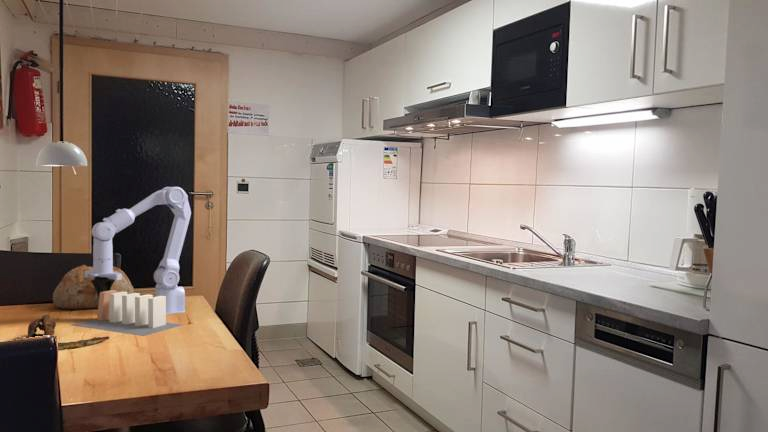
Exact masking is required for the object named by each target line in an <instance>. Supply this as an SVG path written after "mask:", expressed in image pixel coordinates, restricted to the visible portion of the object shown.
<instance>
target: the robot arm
mask: <svg viewBox="0 0 768 432" xmlns="http://www.w3.org/2000/svg"><path fill="white" fill-rule="evenodd" d="M158 205H159V206H160V205H166V206H167V207H168V208H169V209H170V210H171V212H172V213H173V214H174V217H173V221H172V225H171V228H170V232H169V236H168V239H167V243H166V247H165V250H164V254H163V258H162V259H161V260H160V262H159V264H158V267H157V268H156V270H155V271H154V273H153V281H154V282H155V283H156V285H155V296H154V297H157V296H166V315H173V314H182V313H186V293H185V288H184V287H183V286H178V284H179V282H180V273H179V272H180V263H179V261H180V256H181V253H182V249H183V246H184V243H185V239H186V234H187V231H188V227H189V224H190V220H191V215H192V211H191V210H192V209H191V206H190V203H189V196H188V194H187V192H186V191H185V190H184V189H183V188H182V187H179V186H166V187H163V188H162V189H159V190H156V191H155V192H153V193H151V194H150V195H149V196H147V197H145V198H144V199H142V200H141V201H139V202H138V203H137V204H134V205H133V206H132V207H130V208H122V209H121V208H118V209H116V210H115V213H113V214H112V215H110V216H108V217H104V218H102V221H101V222H97V223H95V224H94V225H93V226H92V229H91V231H90V234H91V235H92V237H93V245H92V252H93V253H92V256H93V260H92V261H93V263H92V264H93V265H92V267H93V271H85V277H94V278H95V279H94V280H91V282H92V284H93V285H94V287H95V289H96V291H97V294H98V298H99V296H100V292H104V291H110V289H111V287H112V285H113V283H114V281H115V280H121V279H122V274H120V273H116V272H113V266H114V265H113V264H114V259H113V258H114V256H113V255H114V254H113V250H114V249H113V247H114V246H113V238H114V236H115V235H116V234H118V233H119V232H121V231H122V230H124V229H126V228H127V227H129V226H130V225H133V223H134V222H135V218H136V217H137V216H140V215H141V214H144V213H145V212H147V211H148V210H150V209H152V208H153V207H155V206H158ZM103 276H105V277H103Z"/></svg>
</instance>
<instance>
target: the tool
mask: <svg viewBox="0 0 768 432" xmlns="http://www.w3.org/2000/svg"><path fill="white" fill-rule="evenodd" d="M56 326H57V322H56V321H55V318H54V317H52V316H50V315H48V314H44V315H42V317H41V318H37V319H35V320H33V321H31V322H30V323H29V324H28V327H27V336H26V337H25V338H29V337H35V336H41V335H42V334H41V333H37V332H38V329H39V330H40V331H42V332H43V335H54V334H55V332H56V331H55V329H56ZM109 339H110V336H109V335H108V336H101V337H96V336H95V337H93V338H88V339H81V340H80V339H79V340H77V341H70V342H69V341H68V342H57V343H58V350H57V351H64V350H65V349H67V350H75V349H79V348H85V347H87V346H93V345H97V344H100V343H103V342H105V341H107V340H109Z"/></svg>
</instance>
